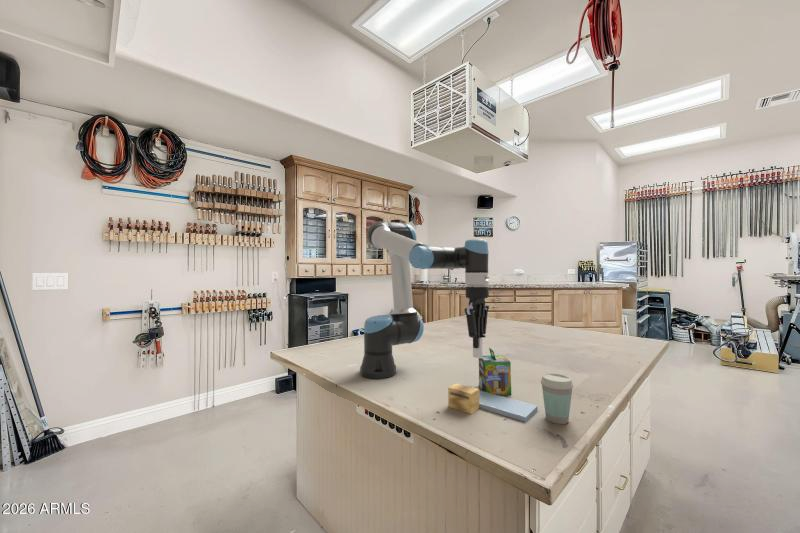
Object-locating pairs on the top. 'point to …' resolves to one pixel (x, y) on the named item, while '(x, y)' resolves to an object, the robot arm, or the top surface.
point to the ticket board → (506, 406)
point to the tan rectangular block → (463, 398)
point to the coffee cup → (557, 397)
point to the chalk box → (495, 374)
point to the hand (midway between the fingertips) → (477, 357)
